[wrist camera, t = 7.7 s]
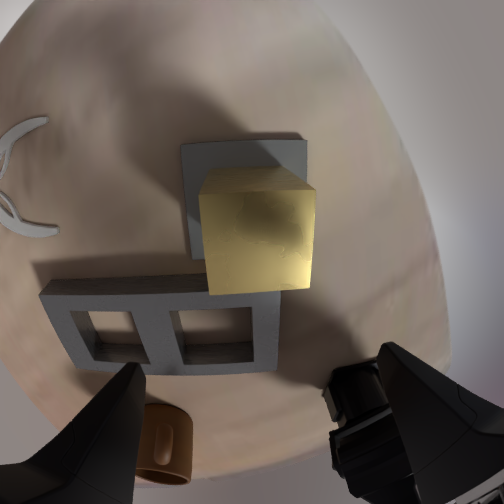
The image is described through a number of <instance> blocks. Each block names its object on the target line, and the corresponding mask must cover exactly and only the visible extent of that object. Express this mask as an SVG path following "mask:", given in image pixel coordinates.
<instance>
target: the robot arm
mask: <svg viewBox="0 0 504 504" xmlns="http://www.w3.org/2000/svg"><path fill="white" fill-rule="evenodd" d="M145 390H146V377H145V374H144V372H143V370H142V367H141V365H140V363H139V362H127V363H126V364H125V365H124V366H123V367H122V368H121V369H120V370H119V372H118V373H117V374H116V375H115V376H114V377H113V378H112V379H111V380H110V381H109V382H108V383H107V384H106V385H105V386H104V387H103V388H102V389H101V390H100V391H99V392H98V393H97V394H96V395H95V396H94V397H93V398H92V400H91V401H90V402H89V403H88V404H87V405H86V406H85V407H84V408H83V409H82V410H81V411H80V412H79V413H78V414H77V415H76V416H75V417H74V418H73V419H72V421H70V422H69V424H68V425H67V426H66V427H65V428H64V429H63V430H62V431H61V432H60V433H59V434H58V435H57V436H55V437H54V438H53V439H52V440H51V441H50V442H49V443H47V444H46V445H45V446H44V447H43V448H42V449H41V450H39V451H38V452H37V453H35V454H34V455H33V456H32V457H30V458H29V459H28V460H26V461H23V462H21V463H16V464H6V465H0V504H132V502H133V490H134V481H135V473H136V465H137V457H138V450H139V443H140V437H141V431H142V425H143V418H144V405H145ZM324 397H325V398H324V399H325V402H326V404H327V407H328V410H329V413H330V416H331V419H332V421H333V422H337V423H338V426H339V428H338V429H336V430H332V431H330V432H329V435H330V438H329V441H330V448H331V455H332V468H333V470H336V471H337V472H338V474H339V475H340V477H341V478H343V479H346V482H347V485H348V489H349V492H350V493H351V494H352V495H353V496H354V497H356V498H360V497H361V498H362V499H364V500H366V501H367V502H369V503H371V504H445V503H448V502H449V501H451V500H453V499H455V500H456V502H455V503H454V504H504V408H501V407H499V406H497V405H495V404H493V403H491V402H489V401H487V400H485V399H483V398H481V397H479V396H477V395H475V394H473V393H472V392H470V391H469V390H467V389H465V388H464V387H462V386H460V385H459V384H457V383H456V382H454V381H452V380H451V379H449V378H448V377H446V376H445V375H443V374H442V373H440V372H439V371H437V370H436V369H434V368H433V367H431V366H430V365H428V364H426V363H425V362H423V361H422V360H420V359H419V358H417V357H416V356H414V355H413V354H411V353H409V352H408V351H406V350H405V349H403V348H402V347H400V346H399V345H397V344H396V343H394V342H386V343H383V344H382V345H381V348H380V350H379V353H378V355H377V359H376V360H375V361H371V362H367V363H363V364H358V365H353V366H349V367H344V368H339V369H335V370H334V371H333V372H332V375H331V379H330V382H329V384H328V385H327V388H326V392H325V395H324Z"/></svg>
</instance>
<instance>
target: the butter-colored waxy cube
mask: <svg viewBox="0 0 504 504" xmlns="http://www.w3.org/2000/svg"><path fill="white" fill-rule="evenodd" d="M198 196H199V207H200V218H201V228H202V237H203V246H204V255H205V263H206V272H207V279H208V287H209V295H224V294H240V293H254V292H268V291H280V290H291V289H302V288H309V286H310V275H311V263H312V251H313V236H314V220H315V200H316V190H315V189H314V188H313V187H311V186H310V185H309V184H307V183H306V182H305V181H303V180H302V179H300V178H299V177H298V176H296V175H295V174H293V173H292V172H291V171H289V170H288V169H286V168H285V167H283V166H253V167H232V168H216V169H209V172H208V174H207V176H206V178H205V181H204V183H203V185H202V188H201V190H200V192H199V195H198Z"/></svg>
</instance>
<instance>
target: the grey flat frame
mask: <svg viewBox="0 0 504 504" xmlns="http://www.w3.org/2000/svg"><path fill="white" fill-rule="evenodd" d="M39 298H40V300H41V302H42V305H43V307H44V309H45V311H46V313H47V315H48V317H49V319H50V322H51V324H52V326H53V327H54V329H55V331H56V333H57V335H58V337H59V339H60V341H61V343H62V344H63V346H64V348H65V350H66V351H67V353H68V355H69V357H70V358H71V360H72V362H73V363H74V365H75V366H76V368H80V369H87V370H95V371H105V372H115V373H118V372H119V370H120V369H121V368H122V367H123V366H124V365H125V364H126V363H127V362H139V363H140V365H141V367H142V370H143V372H144V374H145V375H224V374H241V373H254V372H265V371H275V370H277V363H278V345H279V324H280V299H281V290H280V291H268V292H254V293H240V294H224V295H209V287H208V279H207V273H202V274H185V275H166V276H145V277H123V278H98V279H68V280H51V281H50V282H49V283H48V284H47V285H46V287H45V288H44V289H43V290H42V291H41V292H40V294H39ZM238 307H250V315H251V339H252V342H241V343H225V344H202V345H186V341H185V337H184V334H183V329H182V325H181V321H180V317H179V313H178V311H179V310H204V309H222V308H238ZM87 311H131V313H132V316H133V319H134V322H135V325H136V327H137V330H138V333H139V335H140V338H141V341H142V343H143V345H128V344H107V343H101V341H100V339H99V337H98V334H97V332H96V330H95V328H94V326H93V323H92V321H91V319H90V316H89V314H88V312H87Z"/></svg>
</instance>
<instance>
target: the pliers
mask: <svg viewBox="0 0 504 504" xmlns="http://www.w3.org/2000/svg"><path fill="white" fill-rule="evenodd" d="M46 123H48V117H39V118H33V119H29V120H26V121H24V122H21V123H19V124H18V125H16V126H14V127H13V128H12V129H10V130H9V131H8V132H7V133H6V134H5V135H4V136H3V137H2V138H1V139H0V160H1V158H2V156H3V154H4V153H5V161H4V164H3V168H2V170H1V172H0V180H1V178H2V176H3V175H4V173H5V171H6V169H7V166H8V163H9V160H10V154H11V149H12V146H13V144H14V142H16V141H17V140H18V139H19V138H21V137H22V136H23V135H25V134H26V133H28V132H30V131H31V130H33V129H35V128H37V127H39V126H41V125H44V124H46ZM0 197H1V198H3V199H4V200H5V201H6V202H7V204H8V205H9V207H10V209H11V210H12V213H13V215H11V214H10V213H9V212H8V211H7V210H6V209H5V208H4V207H3V205H2V204H1V203H0V223H2V224H3V225H4V226H5V227H7V228H8V229H10V230H12V231H13V232H16V233H18V234H21V235H24V236H28V237H48V236H52V235H56V234H58V233H60V231H59V227H53V226H44V225H37V224H33V223H29V222H26V221H23V220H22V218H21V217H20V215H19V213H18V211H17V209H16V207H15V205H14V204H13V202H12V201H11V200H10V199H9V198H8V197H7V196H6V195H5V194H4V193H3V192H0Z"/></svg>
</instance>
